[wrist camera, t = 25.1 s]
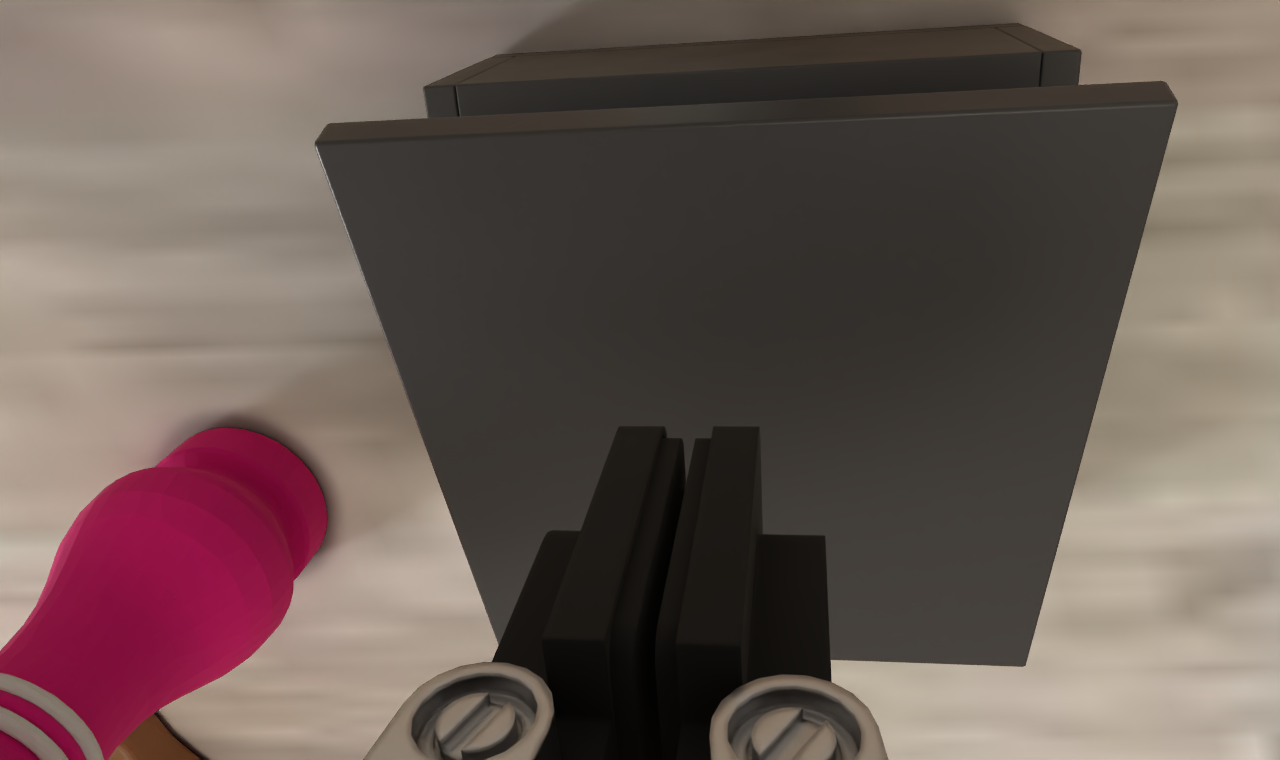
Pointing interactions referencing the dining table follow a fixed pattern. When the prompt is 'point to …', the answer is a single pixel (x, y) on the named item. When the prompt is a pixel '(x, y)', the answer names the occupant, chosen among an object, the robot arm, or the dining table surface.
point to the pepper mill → (158, 593)
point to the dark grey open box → (758, 71)
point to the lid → (772, 323)
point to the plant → (152, 744)
